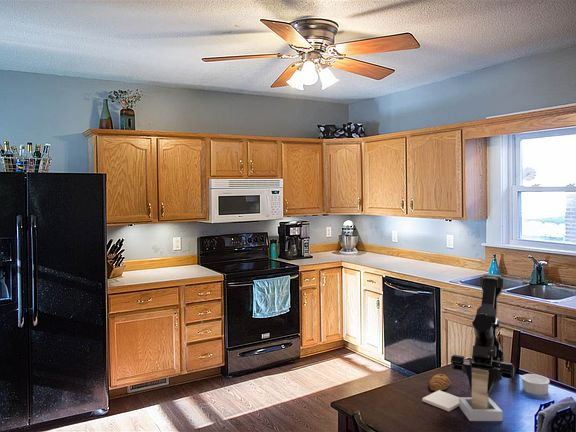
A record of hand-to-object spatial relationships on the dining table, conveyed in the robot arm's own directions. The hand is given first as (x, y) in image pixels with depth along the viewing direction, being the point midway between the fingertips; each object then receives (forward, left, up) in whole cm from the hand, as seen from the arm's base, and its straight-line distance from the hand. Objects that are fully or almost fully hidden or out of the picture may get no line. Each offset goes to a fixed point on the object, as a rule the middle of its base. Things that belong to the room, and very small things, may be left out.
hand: (479, 391), depth 146 cm
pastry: (-22, +3, -8) cm, 24 cm away
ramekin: (-7, +32, -8) cm, 34 cm away
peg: (-1, +1, -7) cm, 7 cm away
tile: (-12, -4, -8) cm, 15 cm away
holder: (-1, +1, -8) cm, 8 cm away
